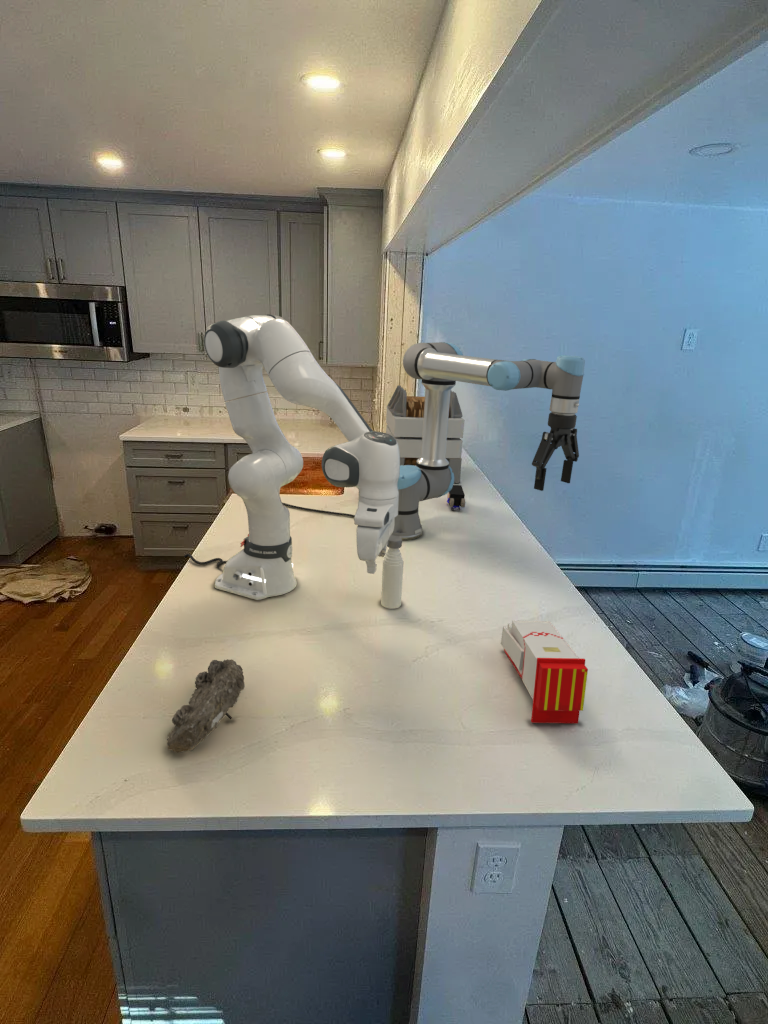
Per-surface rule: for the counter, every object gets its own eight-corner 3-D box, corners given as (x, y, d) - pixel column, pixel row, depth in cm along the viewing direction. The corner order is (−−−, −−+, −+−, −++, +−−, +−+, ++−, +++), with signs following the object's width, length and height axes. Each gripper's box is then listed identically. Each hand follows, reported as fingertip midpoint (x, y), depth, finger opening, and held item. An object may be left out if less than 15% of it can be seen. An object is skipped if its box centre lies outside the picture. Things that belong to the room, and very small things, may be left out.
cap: (404, 546, 147) (405, 539, 146) (393, 550, 144) (394, 542, 143) (394, 541, 149) (394, 534, 149) (383, 545, 147) (383, 537, 146)
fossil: (192, 660, 117) (244, 628, 112) (224, 691, 120) (276, 661, 115) (142, 746, 98) (202, 712, 93) (182, 779, 101) (242, 748, 96)
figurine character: (465, 515, 224) (460, 499, 237) (467, 498, 221) (462, 483, 234) (448, 515, 224) (444, 499, 237) (450, 498, 220) (445, 482, 234)
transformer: (382, 463, 289) (386, 382, 275) (445, 464, 293) (451, 384, 279) (390, 482, 257) (394, 392, 243) (460, 483, 261) (468, 394, 247)
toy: (547, 606, 135) (596, 665, 106) (541, 658, 138) (589, 729, 108) (496, 604, 134) (532, 664, 105) (492, 657, 137) (526, 729, 108)
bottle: (405, 604, 152) (409, 540, 146) (390, 610, 149) (394, 545, 143) (391, 596, 156) (394, 534, 150) (376, 602, 153) (379, 539, 146)
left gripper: (376, 491, 135) (374, 545, 140) (351, 520, 116) (351, 580, 121) (401, 494, 134) (399, 548, 138) (381, 523, 115) (379, 584, 120)
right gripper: (548, 419, 148) (537, 496, 155) (598, 411, 163) (586, 482, 171) (525, 414, 153) (515, 489, 160) (575, 407, 169) (564, 476, 176)
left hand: (376, 563), depth 130 cm, fingers open, 8 cm apart
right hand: (552, 485), depth 166 cm, fingers open, 13 cm apart
